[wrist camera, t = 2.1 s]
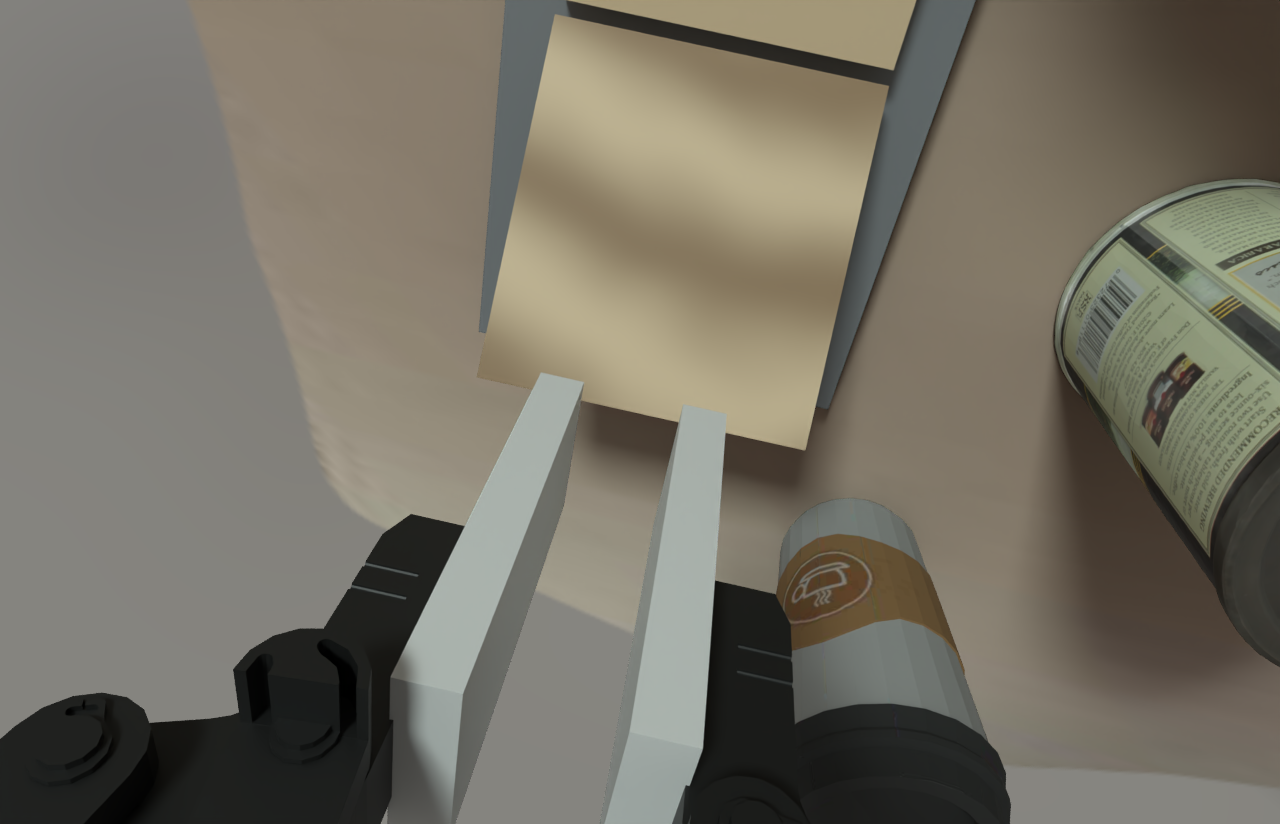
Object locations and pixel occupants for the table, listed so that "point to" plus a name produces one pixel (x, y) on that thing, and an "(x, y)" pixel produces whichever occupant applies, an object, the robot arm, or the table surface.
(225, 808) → the robot arm
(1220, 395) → the coffee can
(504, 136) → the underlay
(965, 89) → the table surface
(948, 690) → the coffee cup
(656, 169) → the plank
